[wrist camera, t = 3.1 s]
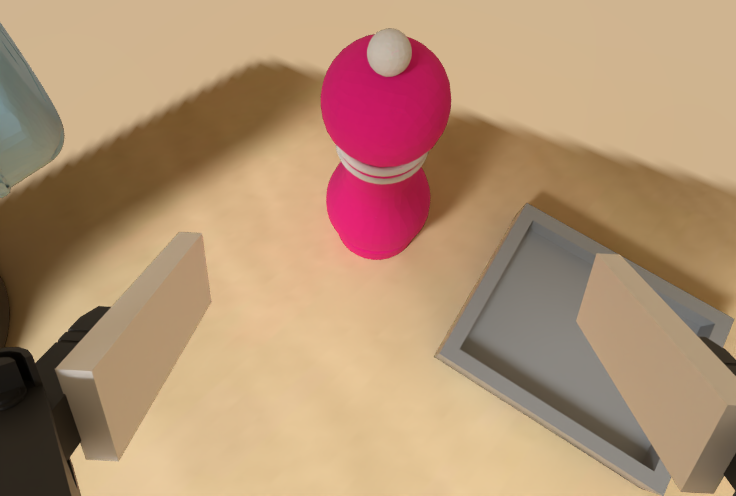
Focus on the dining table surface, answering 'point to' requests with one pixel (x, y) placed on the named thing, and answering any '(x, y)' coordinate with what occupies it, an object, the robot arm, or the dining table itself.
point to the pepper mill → (382, 139)
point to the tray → (559, 343)
